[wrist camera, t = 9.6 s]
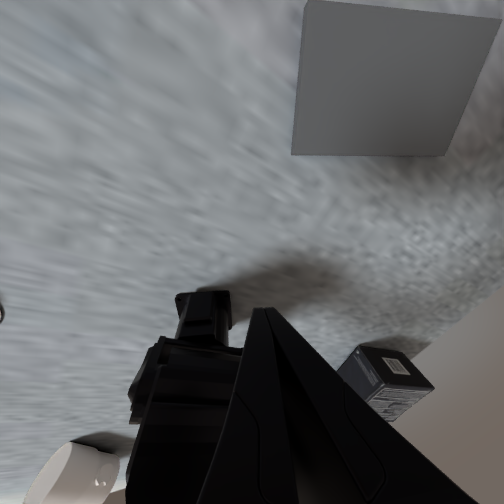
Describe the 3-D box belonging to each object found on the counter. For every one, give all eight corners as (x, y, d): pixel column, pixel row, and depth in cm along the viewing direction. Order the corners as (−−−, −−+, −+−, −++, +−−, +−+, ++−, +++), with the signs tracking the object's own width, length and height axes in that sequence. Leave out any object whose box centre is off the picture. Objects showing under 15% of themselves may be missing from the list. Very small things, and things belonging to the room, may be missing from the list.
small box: (355, 342, 32) (325, 380, 35) (384, 384, 26) (345, 423, 30) (401, 350, 34) (368, 384, 38) (437, 389, 28) (394, 424, 32)
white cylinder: (84, 432, 33) (46, 506, 26) (127, 446, 38) (105, 512, 31) (40, 456, 35) (-7, 531, 28) (86, 466, 39) (55, 534, 32)
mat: (436, 156, 19) (444, 156, 18) (290, 155, 17) (293, 155, 16) (488, 26, 14) (502, 19, 14) (304, 7, 13) (308, -2, 12)
